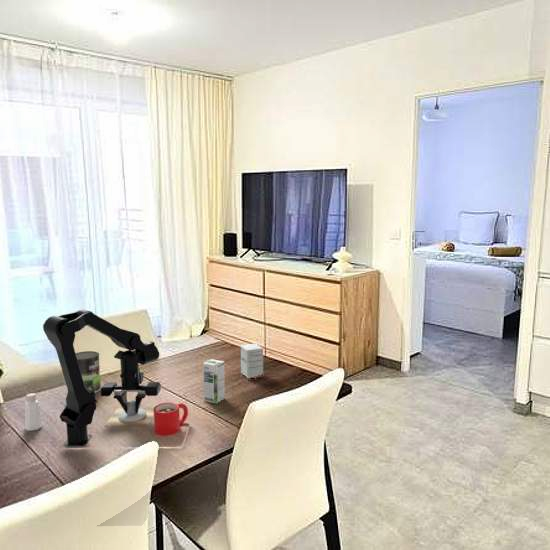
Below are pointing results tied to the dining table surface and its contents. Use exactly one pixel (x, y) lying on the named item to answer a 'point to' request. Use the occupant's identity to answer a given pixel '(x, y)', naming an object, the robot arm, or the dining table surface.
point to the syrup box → (214, 381)
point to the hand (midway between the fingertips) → (132, 413)
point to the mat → (144, 422)
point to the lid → (131, 413)
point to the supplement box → (251, 360)
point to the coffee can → (90, 369)
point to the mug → (168, 418)
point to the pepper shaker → (32, 413)
